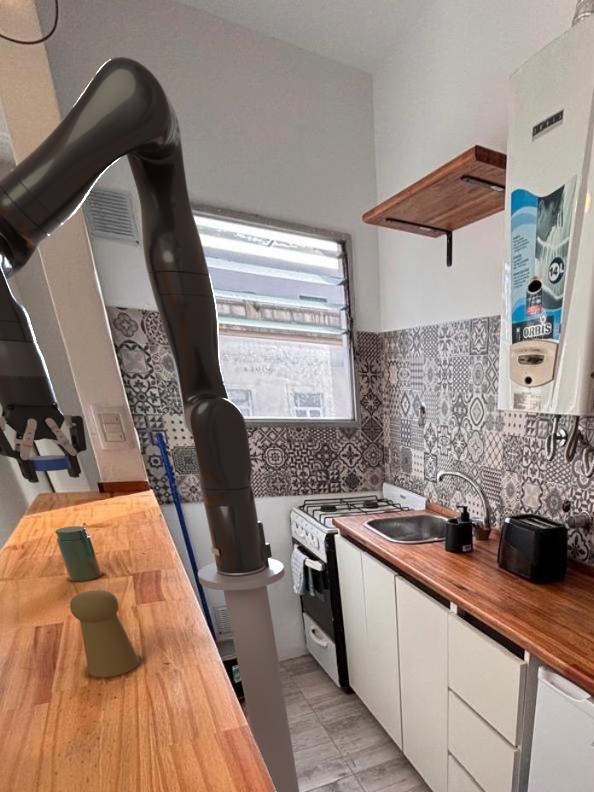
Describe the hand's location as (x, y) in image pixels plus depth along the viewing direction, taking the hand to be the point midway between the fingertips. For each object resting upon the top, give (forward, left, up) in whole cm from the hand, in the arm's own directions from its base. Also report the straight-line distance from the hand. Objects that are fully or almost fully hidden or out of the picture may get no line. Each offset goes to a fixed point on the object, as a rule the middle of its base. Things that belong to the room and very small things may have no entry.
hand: (54, 479), depth 92 cm
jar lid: (0, 0, +3) cm, 3 cm away
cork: (+16, +37, -20) cm, 45 cm away
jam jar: (-1, -3, -19) cm, 20 cm away
